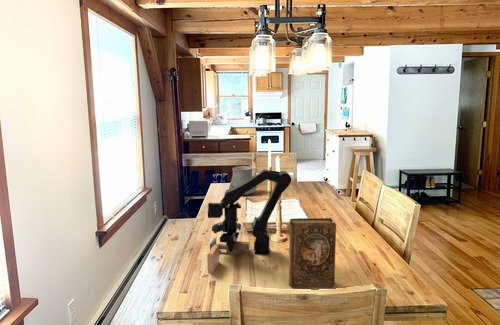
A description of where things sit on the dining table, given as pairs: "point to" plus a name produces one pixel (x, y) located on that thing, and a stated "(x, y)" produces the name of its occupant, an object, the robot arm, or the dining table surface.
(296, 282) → the book
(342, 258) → the dining table surface
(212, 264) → the tile
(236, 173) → the vessel
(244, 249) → the scraper
